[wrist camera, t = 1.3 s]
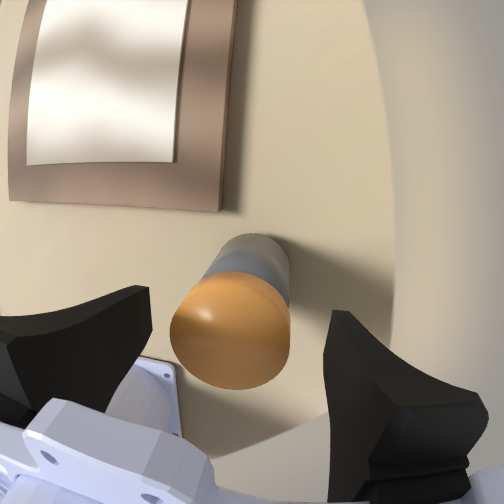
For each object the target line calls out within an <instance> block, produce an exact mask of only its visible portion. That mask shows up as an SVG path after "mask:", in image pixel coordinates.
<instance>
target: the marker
mask: <svg viewBox="0 0 504 504" xmlns="http://www.w3.org/2000/svg"><path fill="white" fill-rule="evenodd" d="M289 282H290V264H289V260H288V257H287V255H286V253H285V251H284V250H283V248H282V247H281V246H280V245H279V244H278V243H277V242H275V241H274V240H273V239H271V238H269V237H267V236H264V235H261V234H251V233H250V234H243V235H240V236H237V237H235V238H233V239H231V240H230V241H229V242H227V243H226V244H225V245H224V247H223V248H222V249H221V251H220V252H219V254H218V255H217V257H216V258H215V260H214V261H213V263H212V264H211V266H210V267H209V268H208V270H207V271H206V273H205V274H204V276H203V277H202V279H201V280H200V281H199V282H198V283H197V284H196V285H195V286H194V287H193V288H192V289H191V291H190V292H189V293H188V295H187V296H186V298H185V299H184V301H183V302H182V304H181V305H180V306H179V308H178V309H177V311H176V312H175V314H174V316H173V318H172V321H171V325H170V341H171V345H172V348H173V351H174V353H175V355H176V357H177V358H178V360H179V361H180V363H181V364H182V365H183V366H184V367H185V368H186V369H187V370H188V371H189V372H190V373H191V374H192V375H194V376H195V377H197V378H198V379H200V380H202V381H204V382H205V383H208V384H210V385H213V386H216V387H219V388H224V389H232V390H243V389H250V388H255V387H258V386H261V385H263V384H265V383H267V382H269V381H270V380H272V379H273V378H274V377H276V376H277V375H278V374H279V373H280V371H281V370H282V369H283V367H284V366H285V364H286V362H287V359H288V355H289V349H290V323H291V322H290V314H289V310H288V308H289Z"/></svg>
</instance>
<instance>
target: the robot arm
mask: <svg viewBox="0 0 504 504" xmlns="http://www.w3.org/2000/svg"><path fill="white" fill-rule="evenodd" d="M152 330H153V329H152V318H151V307H150V294H149V287H145V286H138V285H134V286H130V287H127V288H124V289H121V290H118V291H115V292H113V293H110V294H108V295H105V296H102V297H100V298H97V299H94V300H91V301H88V302H86V303H83V304H80V305H77V306H74V307H70V308H66V309H62V310H58V311H54V312H48V313H42V314H35V315H26V316H0V504H504V465H498V466H495V467H492V468H488V469H484V470H481V471H478V472H475V473H473V474H472V475H470V476H469V477H468V476H467V473H466V470H465V469H466V468H468V466H469V460H468V458H467V454H468V453H469V452H470V450H471V449H472V448H473V447H474V445H475V444H476V443H477V441H478V440H479V438H480V437H481V436H482V434H483V432H484V430H485V429H486V427H487V424H488V420H489V416H488V411H487V409H486V408H485V406H484V404H483V402H482V400H481V399H480V397H479V395H478V393H476V392H472V391H469V390H466V389H462V388H459V387H456V386H453V385H450V384H448V383H445V382H443V381H440V380H438V379H436V378H434V377H431V376H429V375H427V374H425V373H423V372H422V371H420V370H418V369H416V368H415V367H413V366H411V365H410V364H408V363H407V362H405V361H404V360H402V359H401V358H399V357H398V356H397V355H395V354H394V353H393V352H391V351H390V350H389V349H388V348H386V347H385V346H384V345H383V344H382V343H381V342H379V341H378V340H377V339H376V338H375V337H374V336H373V335H372V334H371V333H370V332H369V331H368V330H367V329H366V328H365V327H364V326H363V325H362V324H361V323H360V322H359V321H358V320H357V319H356V318H355V317H354V316H353V315H352V314H351V313H350V312H349V311H341V310H333V311H332V316H331V321H330V326H329V330H328V335H327V339H326V344H325V348H324V353H323V375H324V382H325V389H326V396H327V403H328V410H329V418H330V430H331V431H330V435H331V436H330V437H331V439H330V440H331V441H330V474H329V489H328V500H327V503H307V502H287V501H274V500H267V499H263V498H259V497H256V496H252V495H248V494H245V493H241V492H238V491H234V490H231V489H228V488H225V487H221V486H219V485H216V484H215V481H214V468H213V466H212V464H211V462H210V460H209V459H208V457H207V455H206V454H205V453H204V452H203V451H201V450H200V449H198V448H197V447H196V446H194V445H193V444H192V443H190V442H189V441H187V440H186V439H183V438H182V431H181V423H180V414H179V406H178V396H177V386H176V376H175V368H174V366H173V365H172V364H170V363H167V362H162V361H157V360H153V359H148V358H144V357H139V355H140V354H141V352H142V351H143V349H144V348H145V346H146V344H147V341H148V339H149V337H150V335H151V333H152ZM166 373H167V374H169V375H170V376H169V375H167V374H166Z"/></svg>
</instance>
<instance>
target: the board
mask: <svg viewBox="0 0 504 504" xmlns="http://www.w3.org/2000/svg"><path fill="white" fill-rule="evenodd" d="M237 3H238V0H29V2H28V6H27V9H26V13H25V17H24V21H23V25H22V29H21V34H20V39H19V44H18V49H17V54H16V60H15V66H14V73H13V81H12V89H11V98H10V110H9V126H8V185H9V201H32V202H61V203H85V204H105V205H123V206H139V207H154V208H169V209H182V210H195V211H208V212H219V211H220V210H221V209H222V198H223V179H224V162H225V146H226V131H227V117H228V103H229V90H230V78H231V66H232V54H233V43H234V33H235V22H236V12H237Z"/></svg>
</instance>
